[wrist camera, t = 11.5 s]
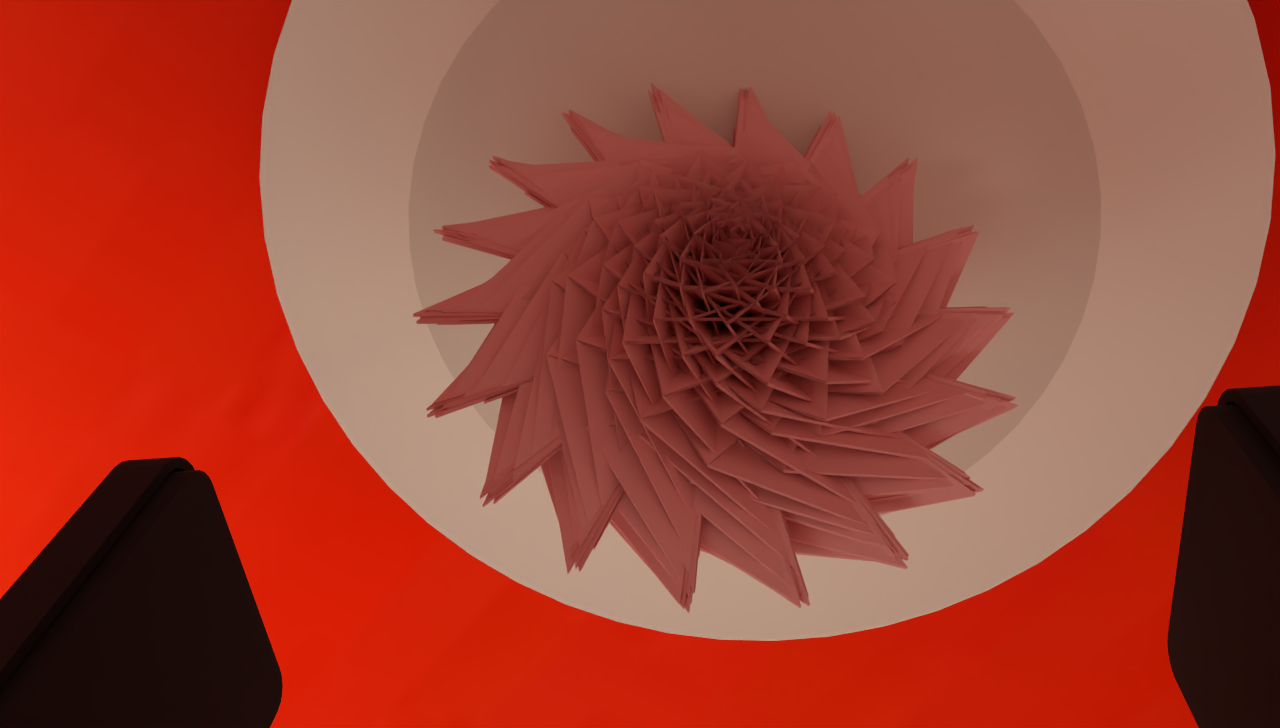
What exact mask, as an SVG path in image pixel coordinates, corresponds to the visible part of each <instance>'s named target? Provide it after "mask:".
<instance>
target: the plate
mask: <svg viewBox="0 0 1280 728" xmlns="http://www.w3.org/2000/svg"><path fill="white" fill-rule="evenodd" d="M651 82H652V83H653V84H654V86H655V87H656V88H657V89H658V88H659V89H660V90H662V91H663V92H664V93H665V94H667V95H668V96H669V97H670V98H671V99H673V100H674V101H675V102H676V103H678V104H679V105H680V106H681V107H683V108H684V109H685V110H686V111H687V112H689V113H690V114H691V115H692V116H694V117H695V118H696V119H697V120H699V121H700V122H701V123H703V124H704V125H705V126H707V127H708V128H710V129H711V130H712V131H714V132H715V133H716V134H718V135H719V136H721V137H722V138H723V139H725V140H726V141H727V142H729V143H730V144H732V133H733V125H734V128H735V130H736V119H737V108H738V98H739V89H740V88H741V90H742V89H743V92H744V94H745V90H746V88H747V90H748V92H749V89H750V86H751V88H752V90H753V92H754V94H755V96H756V98H757V100H758V102H759V104H760V106H761V108H762V110H763V112H764V114H765V116H766V118H767V120H768V121H769V122H770V123H771V124H772V125H773V126H774V127H775V128H776V129H777V130H778V131H779V132H780V133H781V134H782V135H783V136H784V138H785V139H786V140H787V141H788V142H789V143H790V144H791V145H792V146H793V147H794V148H795V149H796V150H797V151H798V152H799V153H800V154H801V155H802V156H804V155H805V153H806V151H807V149H808V147H809V145H810V143H811V141H812V140H813V138H814V136H815V134H816V132H817V130H818V128H819V126H820V125H821V127H822V125H823V123H824V121H825V120H826V118H827V116H828V114H829V112H830V110H831V113H832V114H833V113H834V111H835V115H836V119H837V118H838V117H839V116H840V120H841V124H842V128H843V132H844V136H845V141H846V145H847V149H848V153H849V157H850V161H851V165H852V169H853V173H854V177H855V181H856V185H857V189H858V193H859V194H861V196H862V195H863V194H865V193H866V192H867V191H868V190H870V189H871V188H872V187H873V186H874V185H876V184H877V183H878V182H879V181H880V180H882V179H883V178H884V177H885V176H886V175H888V174H889V173H890V172H891V171H892V170H894V169H895V168H896V167H897V166H898V165H900V164H901V163H902V162H903V161H904V160H906V159H907V158H908V157H909V161H908V165H909V164H910V163H911V162H913V161H914V160H915V159H916V158H918V160H917V167H916V174H915V181H914V196H913V243H916V242H919V241H921V240H925V239H928V238H931V237H934V236H936V235H939V234H942V233H945V232H947V231H950V230H953V229H954V230H956V229H959V228H962V227H964V228H966V227H969V226H972V225H974V226H973V227H974V228H973V230H972V232H975V231H977V232H979V234H978V236H977V238H976V241H975V243H974V245H973V247H972V250H971V252H970V254H969V257H968V259H967V261H966V263H965V266H964V268H963V270H962V273H961V275H960V277H959V279H958V282H957V284H956V286H955V289H954V291H953V293H952V295H951V298H950V300H949V302H948V305H947V307H978V306H987V307H1006V308H1007V307H1011V308H1010V309H1009V311H1008V312H1006V313H1014V315H1013V316H1012V317H1011V318H1010V319H1009V320H1008V321H1007V323H1006V324H1005V325H1004V326H1003V327H1002V328H1001V329H1000V331H999V332H998V333H997V334H996V335H995V336H994V337H993V339H992V340H991V341H990V342H989V343H988V344H987V345H986V347H985V348H984V349H983V350H982V351H981V352H980V353H979V355H978V356H977V357H976V358H975V359H974V360H973V361H972V363H971V364H970V365H969V366H968V367H967V368H966V370H965V371H964V372H963V373H962V374H961V375H960V376H959V378H958V379H957V380H958V381H961V382H965V383H968V384H972V385H976V386H979V387H983V388H986V389H990V390H993V391H997V392H1001V393H1004V394H1008V395H1011V396H1015V397H1016V398H1015V399H1014V400H1012V401H1010V402H1011V403H1014V404H1018V406H1017V407H1016V408H1014V409H1012V410H1010V411H1007V412H1005V413H1003V414H1001V415H998V416H996V417H994V418H992V419H989V420H987V421H985V422H983V423H980V424H978V425H976V426H974V427H971V428H969V429H967V430H965V431H962V432H960V433H958V434H956V435H954V436H953V437H951V438H949V439H948V440H946V441H944V442H942V443H941V444H939V445H937V446H936V447H934V448H932V449H930V450H931V451H933V452H934V453H936V454H938V455H939V456H941V457H942V458H944V459H945V460H947V461H948V462H950V463H952V464H953V465H955V466H956V467H958V468H959V469H961V470H962V471H964V472H966V475H968V476H970V477H971V478H970V479H969V480H971V481H972V482H974V483H975V484H977V485H978V486H980V487H981V488H983V489H984V490H983V491H982V492H976V495H975V496H973V497H967V498H962V499H957V500H952V501H947V502H941V503H936V504H931V505H926V506H921V507H915V508H910V509H905V510H900V511H894V512H889V513H884V514H879V516H880V517H881V518H882V519H883V521H884V522H885V523H886V525H887V526H888V527H889V528H890V530H891V531H892V532H893V533H894V535H895V537H896V539H897V540H898V541H899V542H900V544H901V545H902V546H903V548H904V549H905V550H906V551H907V553H908V554H909V556H908V558H909V559H908V560H903V559H902V560H903V562H904V563H905V564H906V566H907V567H908V568H907V569H902V568H899V567H895V566H891V565H887V564H883V563H879V562H873V561H862V560H852V559H841V558H830V557H819V556H809V555H798V554H796V557H797V561H798V564H799V567H800V570H801V573H802V576H803V579H804V583H805V586H806V589H807V592H808V595H809V597H808V599H809V602H810V606H807V605H806V604H804V603H803V602H801V601H800V604H801V608H799V607H797V606H796V605H794V604H793V603H791V602H790V601H788V600H787V599H785V598H784V597H783V596H781V595H780V594H778V593H777V592H775V591H774V590H772V589H770V588H769V587H767V586H766V585H764V584H762V583H761V582H759V581H757V580H756V579H754V578H753V577H751V576H749V575H748V574H746V573H745V572H743V571H741V570H740V569H738V568H736V567H735V566H733V565H731V564H729V563H727V562H725V561H723V560H721V559H719V558H717V557H715V556H713V555H711V554H709V553H706V552H702V551H700V556H699V558H698V566H697V577H696V589H695V593H693V597H692V604H690V612H689V613H688V612H687V611H686V609H685V608H684V610H683V608H682V607H681V605H680V604H678V603H677V601H676V600H675V599H674V598H673V596H672V595H671V594H670V593H669V591H668V590H667V589H666V588H665V587H664V585H663V584H662V583H661V582H660V580H659V579H658V578H657V577H656V575H655V574H654V573H653V572H652V571H651V570H650V568H649V567H648V566H647V565H646V564H645V563H644V562H643V561H642V559H641V558H640V557H639V556H638V555H637V554H636V553H635V552H634V550H633V549H632V548H631V547H630V546H629V545H628V544H627V542H626V541H625V540H624V539H623V538H622V537H621V536H620V535H619V533H618V532H617V531H616V530H615V529H614V528H613V527H612V526H611V524H610V523H609V524H608V526H607V528H606V529H605V531H604V533H603V535H602V537H601V539H600V540H599V542H598V544H597V546H596V548H595V550H594V548H593V549H592V551H591V553H590V555H589V557H588V559H587V560H586V562H585V564H584V566H583V568H582V570H581V571H579V569H578V567H577V568H575V564H574V565H573V567H572V569H571V570H570V572H569V574H567V568H566V562H565V556H564V550H563V544H562V538H561V532H560V526H559V522H558V519H557V516H556V512H555V509H554V506H553V503H552V500H551V497H550V494H549V491H548V487H547V484H546V481H545V478H544V475H543V472H542V469H541V466H540V467H538V468H537V469H536V470H535V471H534V472H532V473H531V474H530V475H529V476H528V477H526V478H525V479H524V480H523V481H522V482H520V483H519V484H518V485H517V486H516V487H514V488H513V489H512V490H511V491H510V492H508V493H507V494H506V495H505V496H504V497H502V498H501V499H500V500H499V501H498V502H496V503H495V504H493V502H494V499H495V498H494V499H493V500H492V501H491V502H489V503H488V504H487V505H486V506H484V507H483V503H484V501H485V499H486V497H487V495H488V494H486V495H485V496H484V497H482V498H481V499H480V495H481V492H482V489H483V487H484V484H485V481H486V476H487V471H488V466H489V461H490V456H491V451H492V447H493V442H494V437H495V432H496V427H497V422H498V417H499V412H500V407H501V402H502V398H499V399H497V400H494V401H491V402H488V403H486V404H484V401H483V402H480V403H477V404H474V405H472V406H469V407H466V408H463V409H460V410H458V411H455V412H452V413H449V414H446V415H444V416H441V417H438V418H435V415H434V416H431V417H427V414H429V413H430V412H431V411H432V410H433V409H431V410H428V411H427V409H426V408H427V407H429V406H430V405H431V404H432V403H433V402H434V401H435V400H436V399H437V398H438V397H439V396H440V395H441V394H442V393H443V392H444V391H445V389H446V388H447V387H448V386H449V385H450V384H451V383H452V382H453V381H454V380H455V379H456V378H457V377H458V376H459V375H460V373H461V372H462V371H463V370H464V369H465V368H466V367H467V366H468V365H469V363H470V362H471V360H472V359H473V357H474V356H475V354H476V352H477V351H478V349H479V348H480V346H481V345H482V343H483V341H484V340H485V338H486V337H487V335H488V334H489V332H490V330H491V329H492V327H493V326H494V324H464V325H437V324H417V323H416V321H417V320H419V319H420V317H413V314H414V313H416V312H418V311H421V310H423V309H425V308H428V307H430V306H432V305H434V304H437V303H439V302H441V301H444V300H446V299H448V298H451V297H453V296H455V295H458V294H460V293H462V292H465V291H467V290H469V289H471V288H474V287H476V286H478V285H481V284H483V283H485V282H486V281H488V280H489V279H491V278H492V277H493V276H494V275H495V274H496V273H498V272H499V271H500V270H501V269H502V268H503V267H504V266H505V265H506V264H507V263H508V262H509V261H510V260H511V259H507V258H503V257H500V256H496V255H493V254H489V253H485V252H482V251H478V250H474V249H471V248H467V247H464V246H460V245H456V244H453V243H449V242H446V241H442V237H443V235H440V234H437V233H434V231H433V229H439V230H444V229H442V226H444V225H453V224H462V223H471V222H476V221H481V220H486V219H491V218H496V217H501V216H506V215H511V214H515V213H520V212H525V211H530V210H535V209H540V208H545V207H544V206H542V205H541V204H539V203H538V202H536V201H534V200H533V199H531V198H530V197H528V196H527V195H525V191H524V190H522V189H521V188H519V187H518V186H516V185H514V184H513V183H511V182H510V181H508V180H507V179H505V178H504V177H502V176H501V175H499V174H498V173H496V172H494V171H493V170H491V169H490V168H489V165H492V164H490V163H489V160H492V161H495V162H497V161H496V160H494V159H493V155H494V156H497V157H499V158H502V159H505V160H508V161H514V162H519V163H525V164H530V165H542V164H559V163H577V162H595V161H594V160H593V159H592V157H591V156H590V155H589V153H588V152H587V151H586V150H585V148H584V147H583V146H582V145H581V143H580V142H579V141H578V140H577V138H576V137H575V136H574V135H573V133H572V132H571V128H570V126H569V125H568V123H567V122H566V121H565V119H564V118H563V117H562V113H563V112H564V113H566V114H569V115H570V113H569V109H570V110H572V111H574V112H575V113H577V114H579V115H581V116H583V117H585V118H587V119H589V120H590V121H592V122H594V123H596V124H598V125H600V126H602V127H603V128H605V129H607V130H609V131H611V132H613V133H616V134H618V135H620V136H623V137H628V138H636V139H644V140H652V141H660V142H663V139H662V136H661V133H660V130H659V126H658V123H657V120H656V117H655V114H654V111H653V107H652V104H651V101H650V98H649V94H648V90H649V91H650V92H651V93H652V94H653V91H652V87H651ZM653 95H654V94H653ZM1274 166H1275V143H1274V129H1273V116H1272V103H1271V89H1270V83H1269V79H1268V74H1267V70H1266V66H1265V61H1264V57H1263V53H1262V49H1261V44H1260V40H1259V36H1258V31H1257V27H1256V23H1255V18H1254V16H1253V13H1252V11H1251V8H1250V6H1249V3H1248V1H1247V0H292V2H291V5H290V8H289V11H288V14H287V17H286V20H285V23H284V26H283V29H282V32H281V35H280V38H279V41H278V44H277V47H276V50H275V53H274V57H273V62H272V68H271V73H270V78H269V84H268V89H267V94H266V100H265V105H264V110H263V116H262V135H261V157H260V190H261V201H262V212H263V224H264V235H265V241H266V246H267V250H268V255H269V259H270V264H271V268H272V273H273V277H274V282H275V286H276V291H277V295H278V298H279V301H280V304H281V306H282V309H283V312H284V315H285V317H286V320H287V323H288V326H289V328H290V331H291V334H292V337H293V339H294V342H295V345H296V348H297V350H298V352H299V354H300V356H301V358H302V360H303V362H304V364H305V366H306V368H307V370H308V372H309V374H310V376H311V378H312V380H313V382H314V383H315V385H316V387H317V389H318V391H319V393H320V395H321V397H322V399H323V401H324V402H325V404H326V405H327V407H328V408H329V410H330V411H331V413H332V414H333V416H334V417H335V419H336V420H337V422H338V423H339V424H340V426H341V427H342V429H343V430H344V432H345V433H346V435H347V436H348V438H349V439H350V441H351V442H352V444H353V445H354V446H355V448H356V449H357V450H358V451H359V452H360V453H361V455H362V456H363V457H364V458H365V459H366V460H367V462H368V463H369V464H370V465H371V466H372V467H373V469H374V470H375V471H376V472H377V473H378V474H379V476H380V477H381V478H382V479H383V480H384V481H385V483H386V484H387V485H388V486H389V487H390V488H391V489H392V490H393V491H394V492H395V493H396V494H397V495H398V496H400V497H401V498H402V499H403V500H404V501H405V502H406V503H407V504H408V505H409V506H410V507H411V508H412V509H414V510H415V511H416V512H417V513H418V514H419V515H420V516H421V517H422V518H423V519H424V520H425V521H426V522H427V523H429V524H430V525H431V526H433V527H434V528H435V529H437V530H438V531H439V532H441V533H442V534H443V535H445V536H446V537H447V538H449V539H450V540H451V541H453V542H454V543H456V544H457V545H458V546H460V547H461V548H462V549H464V550H465V551H466V552H468V553H469V554H470V555H472V556H473V557H475V558H477V559H479V560H480V561H482V562H484V563H485V564H487V565H489V566H490V567H492V568H494V569H496V570H497V571H499V572H501V573H502V574H504V575H506V576H507V577H509V578H511V579H512V580H514V581H516V582H518V583H520V584H522V585H524V586H526V587H529V588H531V589H533V590H535V591H537V592H540V593H542V594H544V595H546V596H548V597H551V598H553V599H555V600H557V601H559V602H562V603H564V604H566V605H569V606H572V607H575V608H578V609H581V610H584V611H587V612H590V613H593V614H596V615H599V616H602V617H605V618H608V619H611V620H614V621H617V622H621V623H626V624H630V625H635V626H639V627H643V628H648V629H652V630H657V631H661V632H666V633H672V634H680V635H688V636H696V637H704V638H712V639H721V640H764V641H778V640H791V639H804V638H816V637H829V636H835V635H840V634H846V633H851V632H856V631H862V630H867V629H873V628H878V627H884V626H887V625H891V624H894V623H897V622H901V621H904V620H908V619H911V618H915V617H918V616H922V615H925V614H928V613H932V612H935V611H938V610H941V609H943V608H945V607H948V606H950V605H953V604H955V603H958V602H960V601H963V600H965V599H968V598H970V597H972V596H975V595H977V594H980V593H982V592H985V591H987V590H989V589H991V588H993V587H995V586H997V585H999V584H1000V583H1002V582H1004V581H1006V580H1008V579H1010V578H1012V577H1013V576H1015V575H1017V574H1019V573H1021V572H1023V571H1025V570H1026V569H1028V568H1030V567H1032V566H1034V565H1036V564H1038V563H1039V562H1041V561H1042V560H1044V559H1045V558H1047V557H1048V556H1049V555H1051V554H1052V553H1054V552H1055V551H1057V550H1058V549H1060V548H1061V547H1063V546H1064V545H1065V544H1067V543H1068V542H1070V541H1071V540H1073V539H1074V538H1076V537H1077V536H1078V535H1080V534H1081V533H1083V532H1084V531H1086V530H1087V529H1088V528H1089V527H1090V526H1092V525H1093V524H1094V523H1095V522H1096V521H1097V520H1098V519H1100V518H1101V517H1102V516H1103V515H1104V514H1105V513H1106V512H1108V511H1109V510H1110V509H1111V508H1112V507H1113V506H1115V505H1116V504H1117V503H1118V502H1119V501H1120V500H1121V499H1123V498H1124V497H1125V496H1126V495H1127V494H1128V493H1129V492H1131V490H1132V489H1133V488H1134V487H1135V486H1136V485H1137V484H1138V483H1139V482H1140V481H1141V479H1142V478H1143V477H1144V476H1145V475H1146V474H1147V473H1148V472H1149V471H1150V469H1151V468H1152V467H1153V466H1154V465H1155V464H1156V463H1157V462H1158V461H1159V460H1160V458H1161V457H1162V456H1163V455H1164V454H1165V453H1166V452H1167V451H1168V450H1169V449H1170V447H1171V446H1172V445H1173V443H1174V442H1175V440H1176V439H1177V438H1178V436H1179V435H1180V433H1181V432H1182V430H1183V429H1184V428H1185V426H1186V425H1187V423H1188V422H1189V421H1190V419H1191V418H1192V416H1193V415H1194V413H1195V412H1196V411H1197V409H1198V408H1199V406H1200V405H1201V403H1202V402H1203V401H1204V399H1205V398H1206V396H1207V394H1208V392H1209V390H1210V388H1211V387H1212V385H1213V383H1214V381H1215V379H1216V377H1217V375H1218V373H1219V371H1220V370H1221V368H1222V366H1223V364H1224V362H1225V360H1226V358H1227V356H1228V354H1229V353H1230V351H1231V349H1232V347H1233V345H1234V343H1235V341H1236V338H1237V335H1238V332H1239V330H1240V327H1241V324H1242V322H1243V319H1244V316H1245V314H1246V311H1247V308H1248V305H1249V303H1250V300H1251V297H1252V295H1253V292H1254V289H1255V287H1256V284H1257V279H1258V275H1259V270H1260V266H1261V261H1262V257H1263V252H1264V248H1265V243H1266V239H1267V234H1268V230H1269V225H1270V220H1271V207H1272V193H1273V180H1274ZM972 232H971V233H972Z"/></svg>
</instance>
